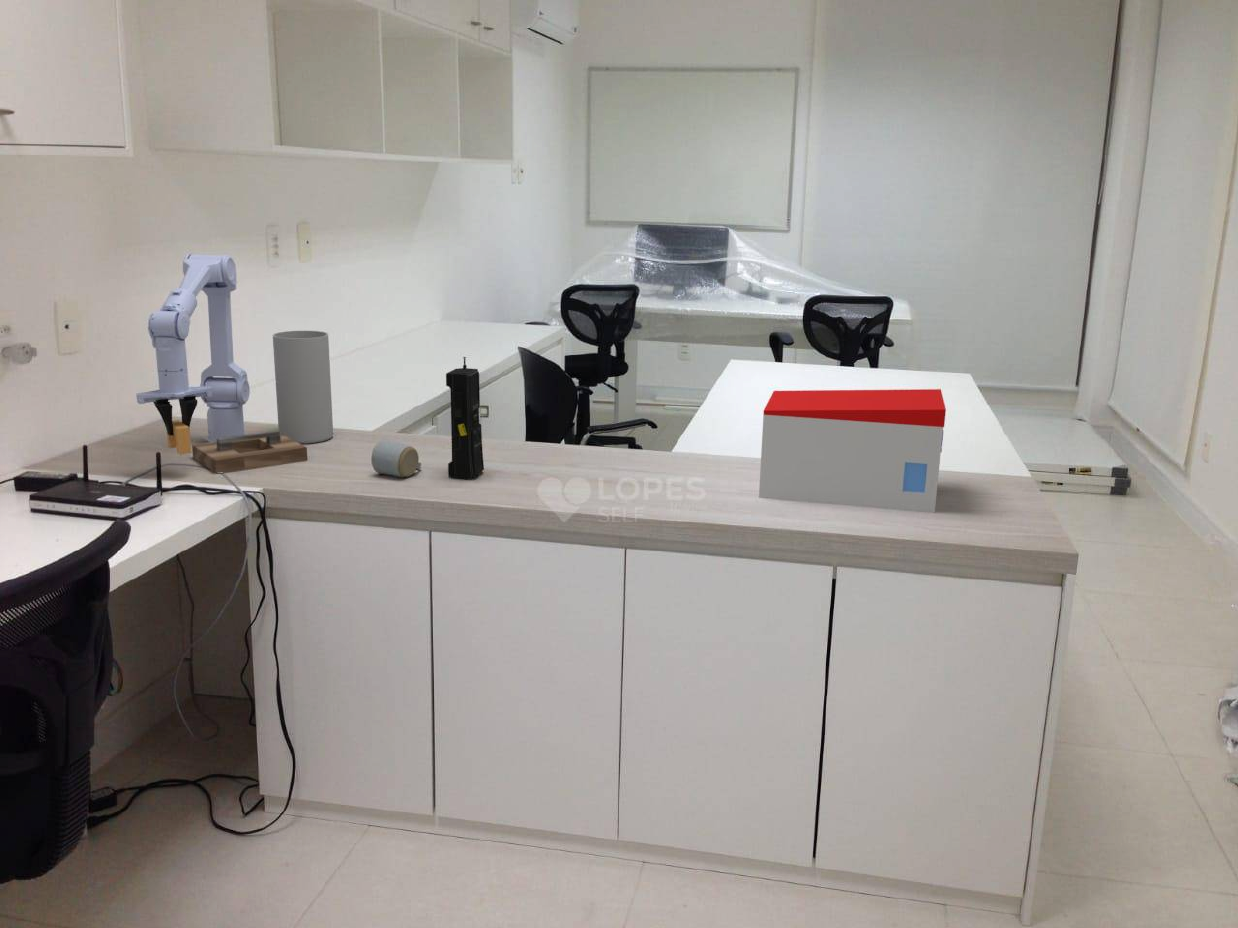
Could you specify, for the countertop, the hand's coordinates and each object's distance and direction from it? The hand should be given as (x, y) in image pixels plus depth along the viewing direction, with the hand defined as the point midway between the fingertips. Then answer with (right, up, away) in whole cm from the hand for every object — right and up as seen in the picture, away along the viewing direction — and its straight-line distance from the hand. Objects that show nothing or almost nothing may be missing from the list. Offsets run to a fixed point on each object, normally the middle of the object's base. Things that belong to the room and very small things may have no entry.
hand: (178, 433), depth 229 cm
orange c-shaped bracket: (0, -3, +1) cm, 3 cm away
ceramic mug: (+45, -9, +6) cm, 46 cm away
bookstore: (+140, -12, 0) cm, 141 cm away
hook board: (+10, -5, +15) cm, 19 cm away
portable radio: (+59, -9, +5) cm, 60 cm away
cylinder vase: (+17, 0, +34) cm, 38 cm away
